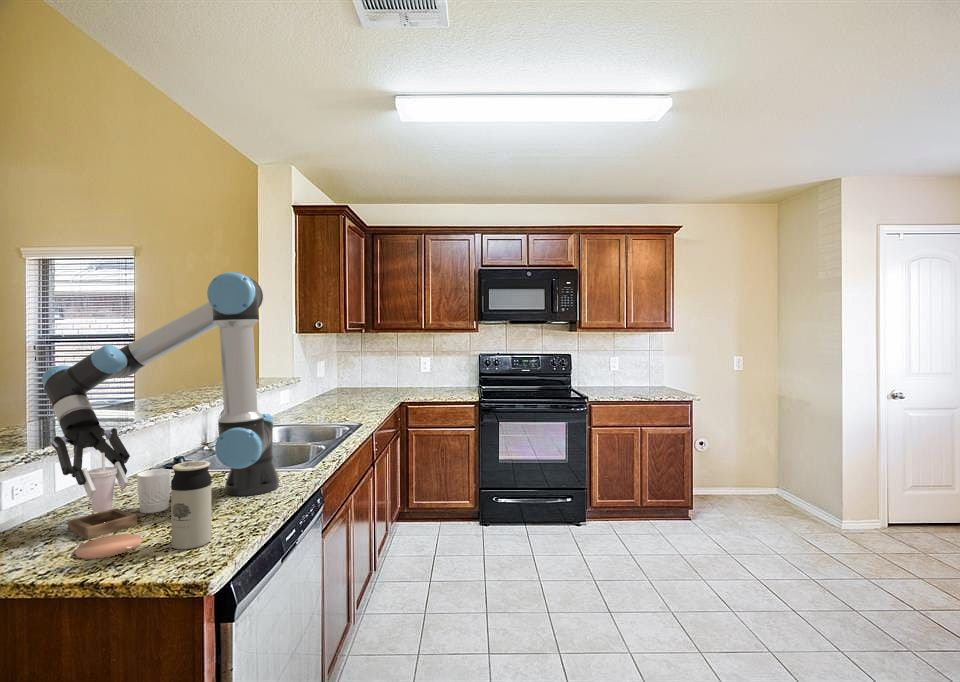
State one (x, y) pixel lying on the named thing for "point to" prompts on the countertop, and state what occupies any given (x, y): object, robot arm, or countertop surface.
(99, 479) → the smoothie
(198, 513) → the travel mug
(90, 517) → the brown square wooden frame
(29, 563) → the countertop surface
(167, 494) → the white cup
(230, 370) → the robot arm
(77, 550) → the coaster
